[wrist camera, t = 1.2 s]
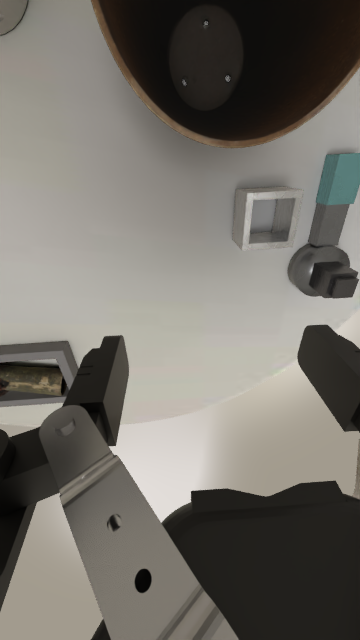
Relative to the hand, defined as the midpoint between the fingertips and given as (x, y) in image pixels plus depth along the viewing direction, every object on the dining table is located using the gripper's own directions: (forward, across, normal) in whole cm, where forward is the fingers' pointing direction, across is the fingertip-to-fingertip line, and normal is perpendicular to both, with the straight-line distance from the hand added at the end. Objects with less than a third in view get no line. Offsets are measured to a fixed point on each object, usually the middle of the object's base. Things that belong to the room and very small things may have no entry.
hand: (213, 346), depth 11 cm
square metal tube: (+25, -10, -2) cm, 27 cm away
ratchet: (+25, -19, +1) cm, 31 cm away
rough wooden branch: (+26, +30, +23) cm, 46 cm away
